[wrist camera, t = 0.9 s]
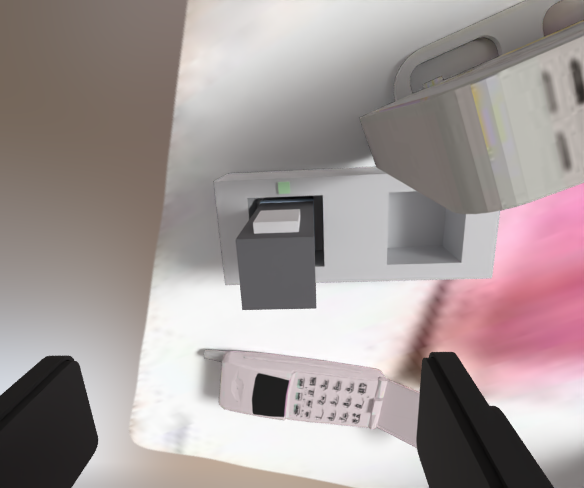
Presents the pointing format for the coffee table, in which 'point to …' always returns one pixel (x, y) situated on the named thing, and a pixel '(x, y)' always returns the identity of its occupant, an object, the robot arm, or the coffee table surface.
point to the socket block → (364, 226)
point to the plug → (278, 255)
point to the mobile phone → (315, 392)
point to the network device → (489, 117)
